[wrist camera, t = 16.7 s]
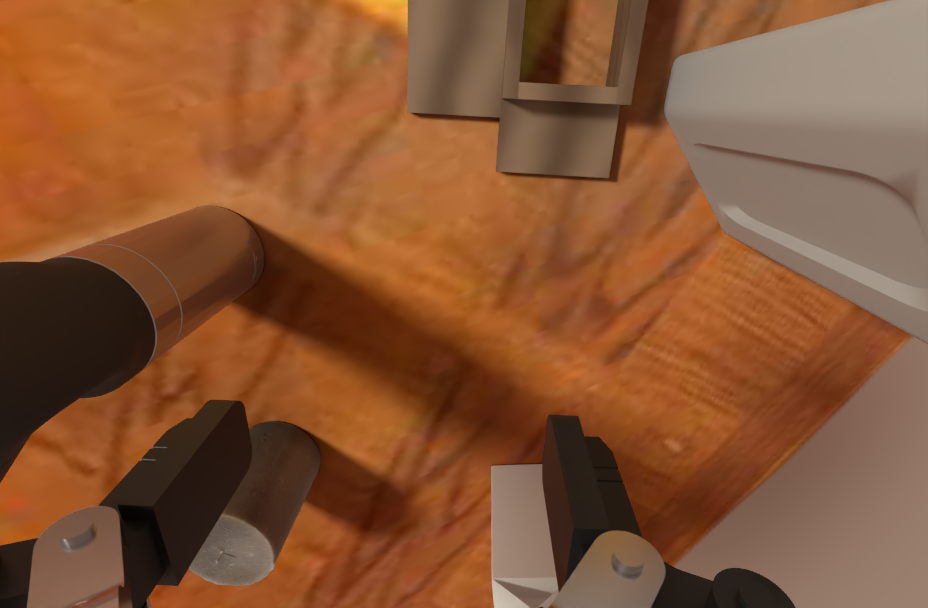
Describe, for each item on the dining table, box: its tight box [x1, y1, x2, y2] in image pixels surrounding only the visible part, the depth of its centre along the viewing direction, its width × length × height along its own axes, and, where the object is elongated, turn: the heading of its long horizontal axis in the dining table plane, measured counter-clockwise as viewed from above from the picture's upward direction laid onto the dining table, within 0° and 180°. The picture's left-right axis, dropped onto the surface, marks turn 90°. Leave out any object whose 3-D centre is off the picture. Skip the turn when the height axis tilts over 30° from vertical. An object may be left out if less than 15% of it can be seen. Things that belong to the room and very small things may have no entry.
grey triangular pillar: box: [664, 0, 928, 344], centre depth 30 cm, size 19×15×28 cm
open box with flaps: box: [407, 0, 648, 178], centre depth 38 cm, size 18×20×6 cm
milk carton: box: [491, 464, 559, 608], centre depth 50 cm, size 7×7×19 cm
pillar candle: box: [189, 421, 321, 587], centre depth 51 cm, size 10×10×15 cm
